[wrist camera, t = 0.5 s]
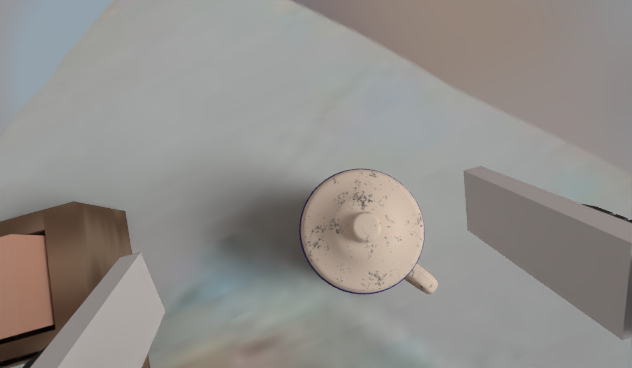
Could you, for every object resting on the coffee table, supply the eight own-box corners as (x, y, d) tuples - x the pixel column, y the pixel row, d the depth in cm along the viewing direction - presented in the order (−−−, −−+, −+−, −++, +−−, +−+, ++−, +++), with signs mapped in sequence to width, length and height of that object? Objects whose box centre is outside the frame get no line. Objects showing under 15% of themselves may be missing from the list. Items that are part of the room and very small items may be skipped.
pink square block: (74, 318, 28) (20, 333, 23) (-8, 341, 28) (-80, 361, 23) (64, 236, 29) (11, 234, 24) (-15, 258, 29) (-84, 259, 24)
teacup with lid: (288, 242, 33) (266, 239, 22) (343, 170, 34) (351, 131, 23) (388, 323, 31) (423, 365, 20) (443, 244, 32) (506, 241, 21)
